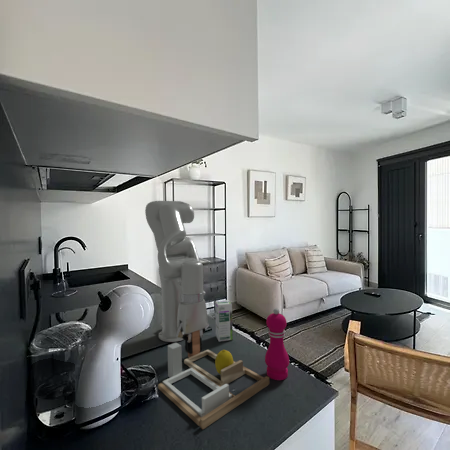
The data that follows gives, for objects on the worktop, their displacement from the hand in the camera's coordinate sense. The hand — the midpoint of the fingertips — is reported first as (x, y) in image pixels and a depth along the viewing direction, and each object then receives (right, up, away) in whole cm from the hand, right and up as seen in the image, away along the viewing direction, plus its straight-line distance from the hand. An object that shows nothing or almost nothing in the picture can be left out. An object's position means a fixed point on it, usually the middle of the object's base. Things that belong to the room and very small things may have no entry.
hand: (193, 349), depth 92 cm
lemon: (+11, -3, -12) cm, 16 cm away
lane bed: (+7, -3, -16) cm, 18 cm away
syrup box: (+10, -2, +15) cm, 18 cm away
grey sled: (+2, -2, -18) cm, 18 cm away
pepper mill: (+27, -2, -11) cm, 29 cm away
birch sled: (+6, -2, -7) cm, 9 cm away
